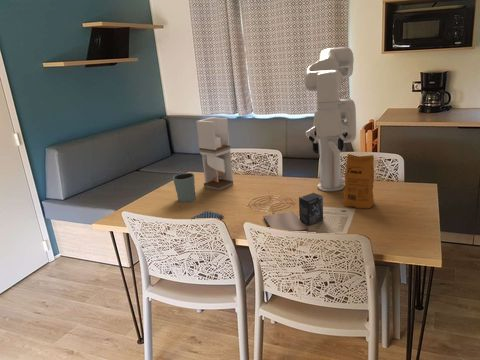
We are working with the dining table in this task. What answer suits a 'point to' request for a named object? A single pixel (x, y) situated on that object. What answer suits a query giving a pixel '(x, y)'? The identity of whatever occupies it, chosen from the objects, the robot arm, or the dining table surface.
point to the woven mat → (209, 215)
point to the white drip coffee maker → (215, 152)
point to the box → (311, 208)
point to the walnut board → (285, 222)
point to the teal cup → (185, 187)
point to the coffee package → (359, 181)
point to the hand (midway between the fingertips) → (328, 151)
